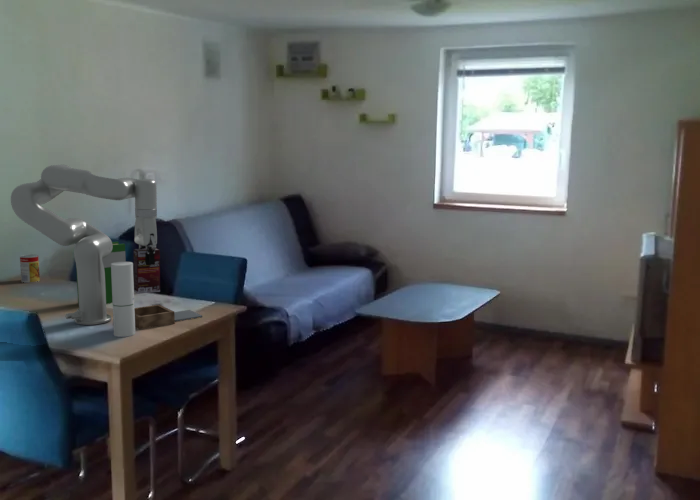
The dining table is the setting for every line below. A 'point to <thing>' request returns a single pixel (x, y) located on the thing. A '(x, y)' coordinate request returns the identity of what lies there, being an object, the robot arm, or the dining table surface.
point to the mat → (185, 315)
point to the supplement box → (146, 272)
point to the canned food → (29, 268)
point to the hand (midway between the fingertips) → (146, 262)
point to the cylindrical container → (123, 299)
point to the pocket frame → (153, 316)
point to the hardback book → (114, 256)
